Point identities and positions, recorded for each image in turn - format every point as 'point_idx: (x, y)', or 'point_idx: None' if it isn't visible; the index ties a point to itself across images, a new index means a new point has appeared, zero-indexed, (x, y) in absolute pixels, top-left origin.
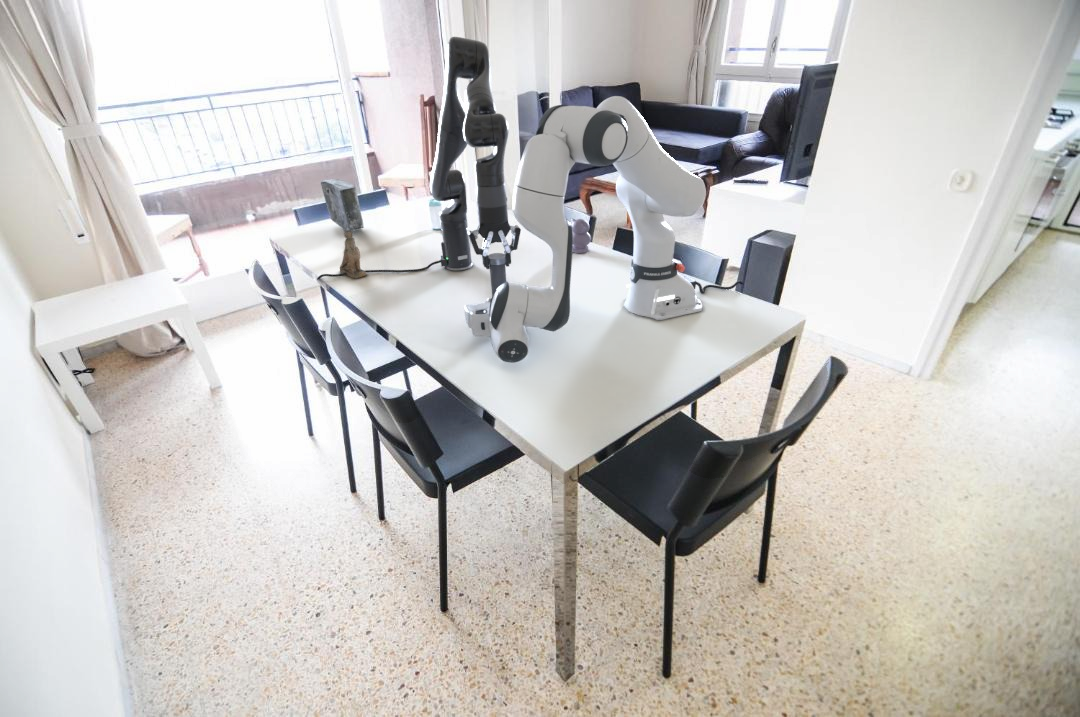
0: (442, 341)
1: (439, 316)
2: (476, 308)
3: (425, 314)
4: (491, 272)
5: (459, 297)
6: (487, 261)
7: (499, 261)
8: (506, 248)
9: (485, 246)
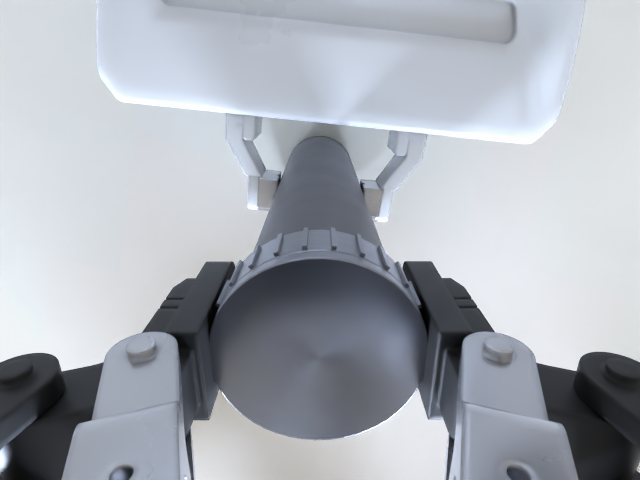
0: (602, 82)
1: (540, 301)
2: (500, 60)
3: (582, 332)
4: (381, 245)
5: (426, 418)
6: (437, 297)
7: (306, 241)
8: (155, 381)
9: (553, 426)
